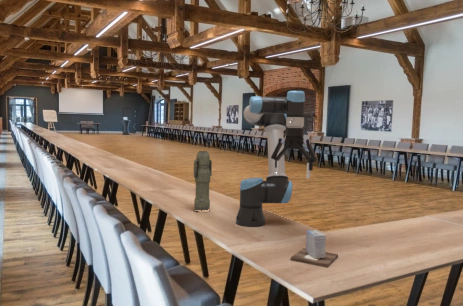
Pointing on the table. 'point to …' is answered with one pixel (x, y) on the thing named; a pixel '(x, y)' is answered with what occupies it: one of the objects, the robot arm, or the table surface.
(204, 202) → the green robed figurine
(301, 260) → the pad
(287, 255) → the table surface
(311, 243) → the medicine box
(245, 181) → the robot arm
